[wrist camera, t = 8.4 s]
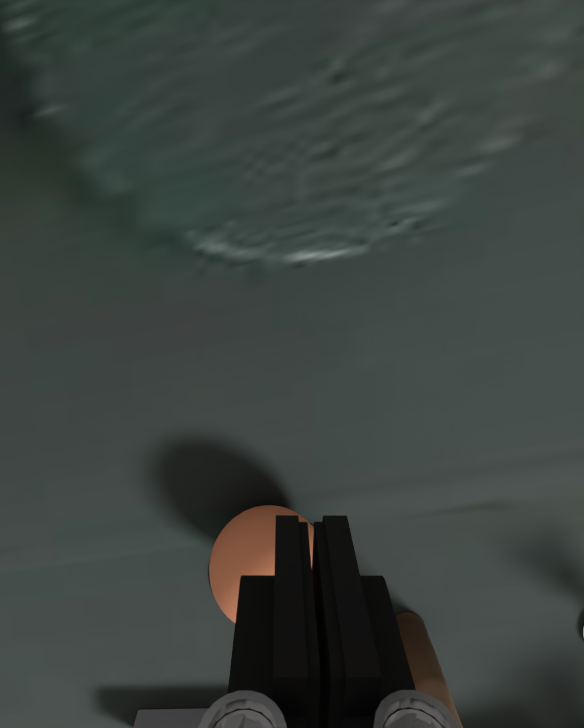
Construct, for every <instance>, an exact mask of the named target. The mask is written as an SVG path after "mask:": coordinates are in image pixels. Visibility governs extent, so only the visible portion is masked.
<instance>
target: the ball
mask: <svg viewBox="0 0 584 728" xmlns="http://www.w3.org/2000/svg"><path fill="white" fill-rule="evenodd" d="M276 515H298V516H299V522H307V523H308V533H309V544H310V556H311V567H312V555H313V535H314V528H313V526H312V525H311V524H310V523H309V522H308V521H307V520H306V519H305V518H303V517H302V516H301V515H299V514H298V513H296V512H294V511H292V510H290V509H288V508H285V507H281V506H275V505H264V506H257V507H253V508H251V509H248V510H246V511H244V512H242V513H240V514H239V515H237V516H236V517H234V518H233V519H232V520H231V521H230V522H229V523H228V524H227V525H226V526H225V527H224V528H223V530H222V531H221V533H220V534H219V536H218V538H217V539H216V542H215V544H214V546H213V550H212V553H211V557H210V563H209V577H210V584H211V588H212V592H213V594H214V597H215V599H216V601H217V603H218V605H219V607H220V608H221V610H222V611H223V612H224V613H225V615H226V616H227V617H228V618H229V619H231V620H232V621H233V622H234V623H235V622H236V613H237V604H238V595H239V585H240V578H241V575H275V525H276Z"/></svg>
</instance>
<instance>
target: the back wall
mask: <svg viewBox="0 0 584 728" xmlns="http://www.w3.org/2000/svg"><path fill="white" fill-rule="evenodd" d="M208 709H209V708H196V709H145V710H138V712H137V716H136V719H135V723H134V727H133V728H198V727H199V725H200V722H201V720H202V718H203V716H204V714H205V713H206V711H207V710H208Z"/></svg>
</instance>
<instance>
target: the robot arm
mask: <svg viewBox="0 0 584 728" xmlns="http://www.w3.org/2000/svg"><path fill="white" fill-rule="evenodd" d="M198 728H461V726H460V725H459V723H458V722H457V720H456V718H455V717H454V715H453V714H452V712H451V711H450V710H449V709H448V708H447V707H445V706H444V705H443V704H442V703H441V702H440V701H439V700H437V699H435V698H434V697H432V696H430V695H429V694H426V693H423V692H420V691H416V688H415V684H414V681H413V677H412V674H411V670H410V667H409V663H408V660H407V656H406V652H405V649H404V645H403V642H402V638H401V635H400V631H399V628H398V624H397V621H396V617H395V613H394V610H393V606H392V603H391V599H390V596H389V592H388V589H387V585H386V582H385V579H384V578H383V576H360V574H359V570H358V565H357V560H356V556H355V551H354V546H353V542H352V537H351V533H350V528H349V523H348V519H347V516H323V521H322V522H314V535H313V555H312V567H311V556H310V544H309V533H308V523H307V522H299V516H298V515H276V525H275V575H241V578H240V585H239V595H238V604H237V613H236V622H235V632H234V641H233V650H232V659H231V669H230V678H229V687H228V694H226V695H224V696H223V697H221V698H220V699H219V700H217V701H216V702H214V703H213V704H212V705H211V707H210V708H209V709H208V710H207V711H206V713H205V714H204V716H203V718H202V720H201V722H200V725H199V727H198Z"/></svg>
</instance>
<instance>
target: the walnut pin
mask: <svg viewBox="0 0 584 728" xmlns="http://www.w3.org/2000/svg"><path fill="white" fill-rule="evenodd" d="M395 617H396V621H397V624H398V628H399V631H400V635H401V638H402V642H403V645H404V649H405V652H406V656H407V660H408V663H409V667H410V670H411V674H412V677H413V681H414V684H415V688H416V691H420V692H423V693H426V694H429V695H430V696H432V697H434V698H435V699H437V700H439V701H440V702H441V703H442V704H443V705H444V706H445V707H447V708H448V709H449V710H450V711H451V712H452V714H453V715H454V717H455V718H456V720H457V722H458V723H459V725H460V726H461V728H463V727H462V724H461V721H460V719H459V716H458V713H457V710H456V708H455V705H454V702H453V700H452V697H451V694H450V692H449V689H448V686H447V684H446V681H445V678H444V676H443V673H442V670H441V667H440V665H439V662H438V659H437V657H436V654H435V651H434V649H433V646H432V643H431V641H430V638H429V635H428V633H427V630H426V627H425V624H424V622H423V620H422V618H421V617H420V616H418V615H417V614H415V613H410V612H404V613H400V614H397V615H395Z"/></svg>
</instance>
